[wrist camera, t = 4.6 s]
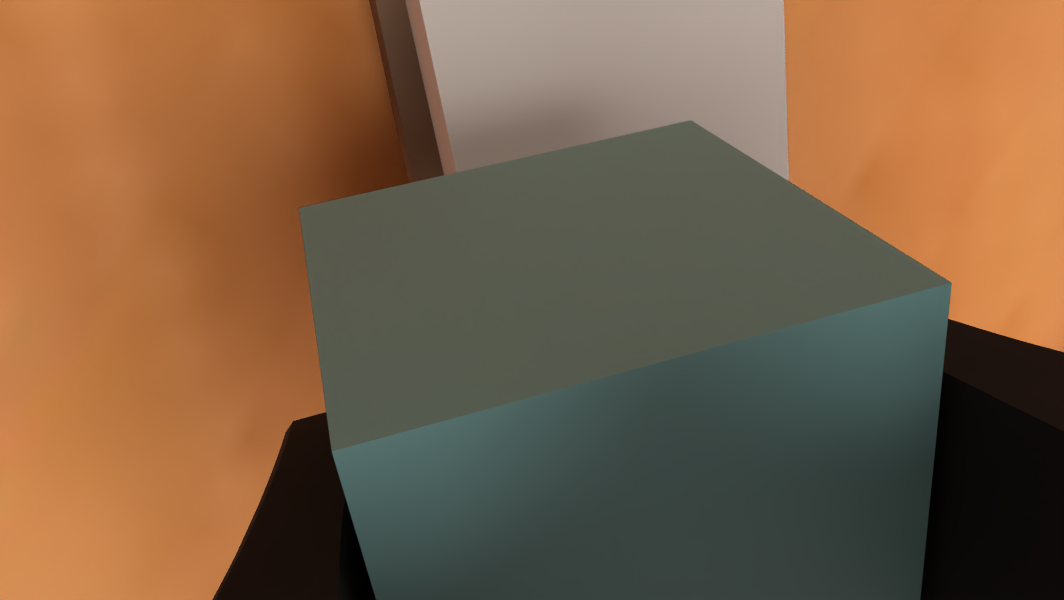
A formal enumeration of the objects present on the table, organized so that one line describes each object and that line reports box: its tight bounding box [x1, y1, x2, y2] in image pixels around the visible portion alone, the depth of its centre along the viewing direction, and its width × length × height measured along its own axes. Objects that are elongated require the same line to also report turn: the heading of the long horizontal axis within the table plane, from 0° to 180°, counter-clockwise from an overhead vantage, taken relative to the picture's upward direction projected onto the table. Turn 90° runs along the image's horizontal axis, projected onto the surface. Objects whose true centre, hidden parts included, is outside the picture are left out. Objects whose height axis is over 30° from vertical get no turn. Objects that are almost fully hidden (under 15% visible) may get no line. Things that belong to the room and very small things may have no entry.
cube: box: [299, 120, 952, 600], centre depth 10 cm, size 5×5×5 cm
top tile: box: [405, 0, 789, 181], centre depth 16 cm, size 6×6×2 cm
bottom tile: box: [369, 0, 444, 183], centre depth 18 cm, size 7×7×2 cm
